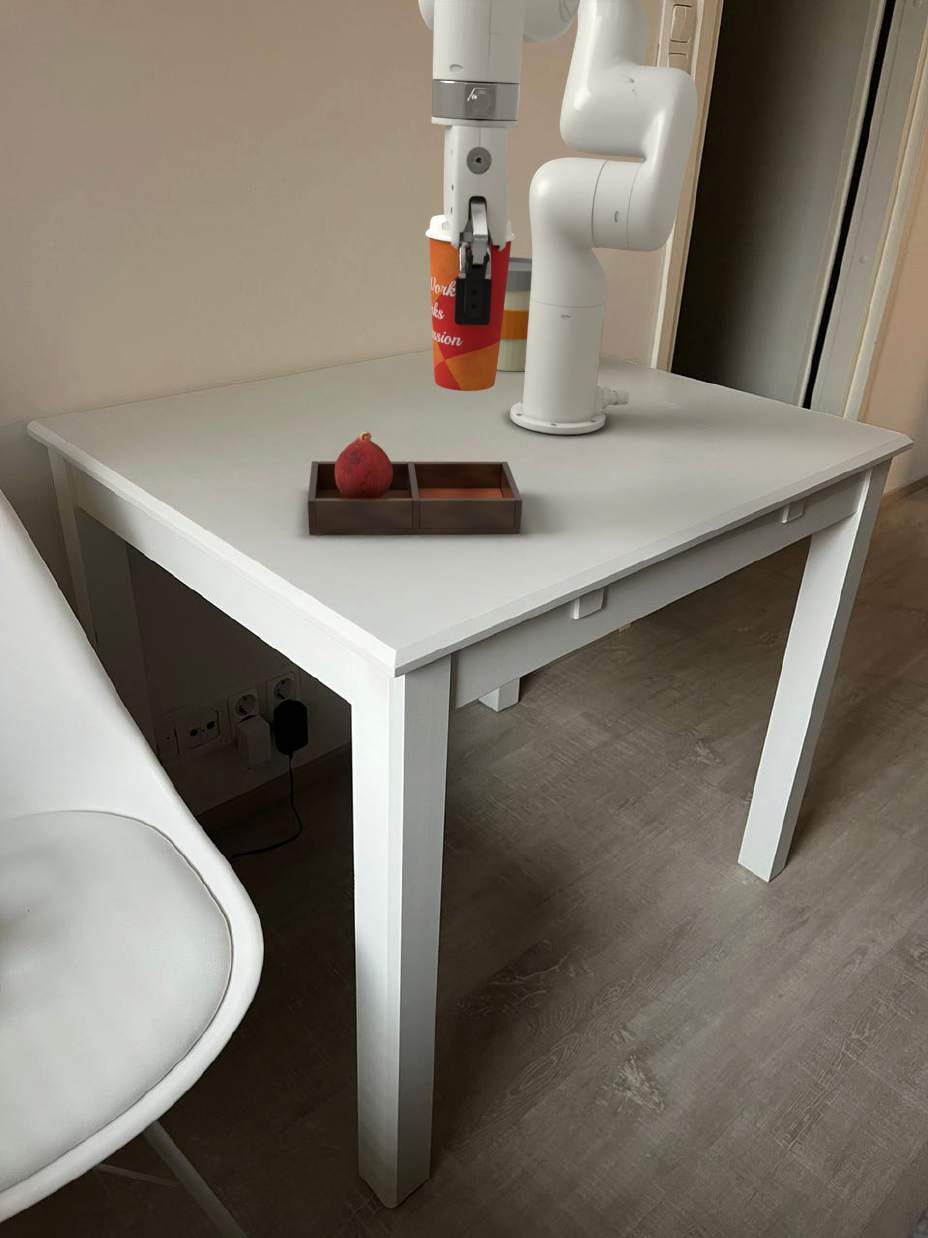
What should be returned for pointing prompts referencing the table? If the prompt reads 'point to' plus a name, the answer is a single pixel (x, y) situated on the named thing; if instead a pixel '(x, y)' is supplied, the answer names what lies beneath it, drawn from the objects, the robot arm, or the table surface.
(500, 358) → the reusable coffee cup
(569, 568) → the table surface
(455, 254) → the coffee cup
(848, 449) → the table surface
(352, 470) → the red round fruit
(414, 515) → the organizer
